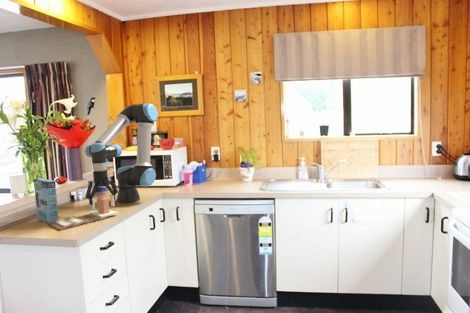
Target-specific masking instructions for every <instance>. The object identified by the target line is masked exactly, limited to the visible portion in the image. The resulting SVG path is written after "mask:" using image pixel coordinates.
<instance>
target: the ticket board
mask: <svg viewBox="0 0 470 313" xmlns="http://www.w3.org/2000/svg"><path fill="white" fill-rule="evenodd" d="M107 217H108V216H107ZM107 217H103V218H100V217H97V216H94V215H91V214H90V213H87V214H83V215H78V216H74V215H73V216H69V217H65V218H58V220H55V221H54V222H52V223H47V226H49V227H51V228H54V229H56V230H58V231H60V232H61V231H64V230H69V229H72V228H77V227H81V226H85V225H88V223H89V224H93V223H96V221H97V222H102V221H105V220H107V219H108V218H107ZM92 222H93V223H92ZM84 224H85V225H84ZM80 225H81V226H80Z"/></svg>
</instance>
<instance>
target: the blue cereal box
mask: <svg viewBox="0 0 470 313" xmlns="http://www.w3.org/2000/svg"><path fill="white" fill-rule="evenodd" d="M33 184H34V185H33V186H34V189H33V190H34V198H35V210H36V218H37V219H39V220H40V221H41V220H42V221H44V222H45V223H47V224H48V223H52V222H54V221H55V220H59V211H58V210H59V209H58V199H57V198H58V197H57V188H56V187H57V186H56V181H55V180H51V179H47V178H42V177H41V178H40V177H39V178H34V179H33Z"/></svg>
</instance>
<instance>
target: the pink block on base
mask: <svg viewBox="0 0 470 313" xmlns="http://www.w3.org/2000/svg"><path fill="white" fill-rule="evenodd" d="M96 205H97V206H96V208H97V210H95V211H90V212H89V214H91V215H94V216H97V217H100V218H103V217H112V216H116V215H118V214H119V212H118V211H114V210H111V209H110V204H109V198H106V197H97V198H96Z"/></svg>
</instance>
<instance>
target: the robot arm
mask: <svg viewBox="0 0 470 313" xmlns="http://www.w3.org/2000/svg"><path fill="white" fill-rule="evenodd" d="M158 117H159V113H158V109H157V108H156V106H155V105H154V104H153V103H136V104H130V105H128V106H127V107H125V108H123V109H122V111H120V112H119V113H118V115H116V119H115V120H114V121H113V122H112V123H111V124H110V126H108V128H107V129H106V130H105V131H104V132H103V133H102V134H101V135H100V136H99V137H98V138H97V139H96V141H95V142H93V143H91V144H90V145H89V144H88V145H87V146H86V147H85V149H84V153H85V155H86V156H87V157H88V158H91V164H92V170H93V171H92V175H93V176H92V177H93V180H88V181H87V182H88V185H87V189H86V192H85V197H84V198H85V199H87V200H88V203H89V205H90V208H91V211H92V212H94V211H96V209H95V208H96V207H95V206H96V205H95V199H94V196H95V195H96V192H97V190H98V189H99V188H102V187H105V188H106V189H107V190H108V192H109V193H110V194H109V196H110V206H111V207H115V206H116V205H115V201H116V202H117V203H119V204H128V203H134V202H137V201H140V200H141V197H140V196H141V195H140V194H139V191H138V189H137V187H150V186H152V185H153V183H155V181H156V177H157V174H156V170H155V169H154V168H153V165H152V164H151V150H152V149H151V148H152V146H151V145H152V127H153V126H154V124H155V121H157V120H158ZM132 123H135V125H137V142H136V143H137V146H136V147H137V148H136V162H135V164H134V165H128V166H123V167H119V168H117V170H116V178H117V187H116V184H115V182H114V177H112V176H111V177H110V176H109V177H108V170H107V169H108V165H107V159H111V158H112V159H113V158H117V157H120V156H121V155H122V153H123V150H122V149H123V148H122V147H121V145H120V144H118V143H116V144H114V143H113V142H114V141H115V140H116V138H117V137H118V136H119V135H120V134H122V132H123V131H124V129H126V127H130V125H131V124H132ZM112 143H113V144H112ZM108 182H109V183H108ZM93 185H94V186H93Z"/></svg>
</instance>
